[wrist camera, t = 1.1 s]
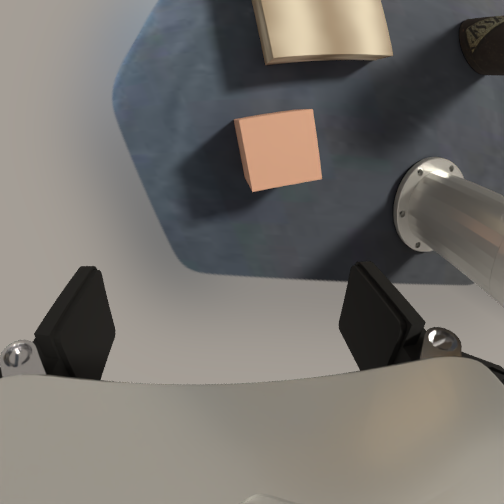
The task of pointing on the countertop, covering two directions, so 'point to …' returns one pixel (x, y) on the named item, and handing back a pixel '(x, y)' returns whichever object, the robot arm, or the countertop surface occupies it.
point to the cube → (278, 148)
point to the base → (321, 30)
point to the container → (484, 44)
